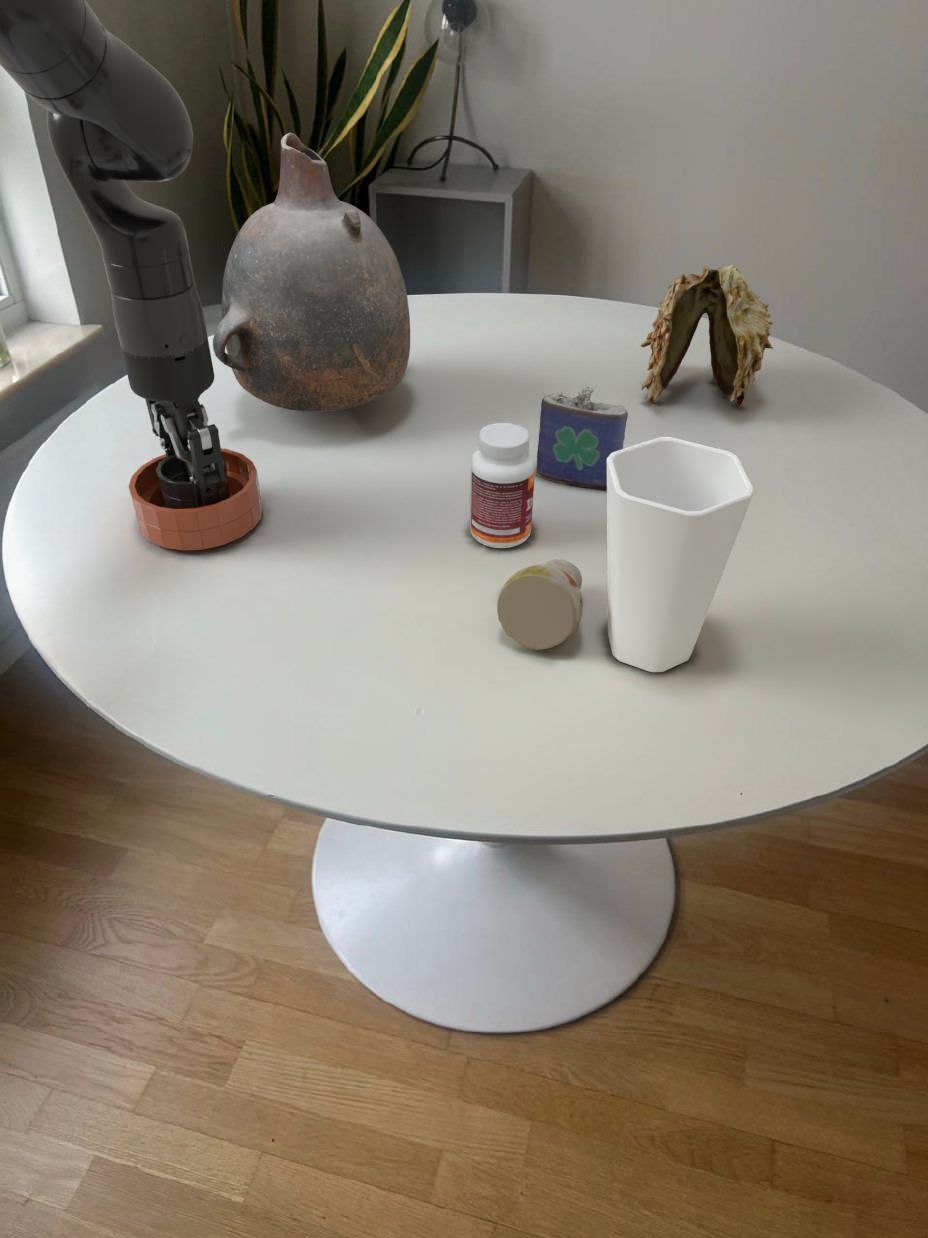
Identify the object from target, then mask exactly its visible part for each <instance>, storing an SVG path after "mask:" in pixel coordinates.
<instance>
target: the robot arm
mask: <svg viewBox="0 0 928 1238" xmlns="http://www.w3.org/2000/svg"><path fill="white" fill-rule="evenodd" d="M0 66H1V68H2V69H3V70H4V71H5V72H6V73H7V74H8V75H9V76H10V77H11V78H12V80H13V81H14V82H15V83H16V84H17V85H18V86H19V87H20V88H21V90H23V92H25V94H26V95H27V96H28V97H29V98H30V99H31V100H32V101H34V102H35V103H36V104H37V105H39V106H40V107H41V108H43V109H44V110H46V128H47V133H48V138H49V142H50V145H51V149H52V151H53V153H54V156H55V159H56V160H57V162H58V164H59V167H60V168H61V170H62V172H63V174H64V176H65V178H66V180H67V182H68V183H69V186H70V187H71V190H72V192H73V193H74V195H75V197H76V199H77V202H79V205H80V206H81V209H82V210H83V213H84V215H85V216H86V219H87V221H88V223H89V225H90V227H91V229H92V231H93V232H94V234H95V236H96V239H97V241H98V244H99V246H100V252H101V256H102V257H101V258H102V260H103V265H104V269H105V273H106V278H107V281H108V286H109V290H110V296H111V306H112V314H113V321H114V325H115V329H116V333H117V337H118V341H119V345H120V350H121V354H122V358H123V362H124V366H125V371H126V375H127V380H128V384H129V387H130V389H131V391H132V392H133V393H134V394H135V395H136V396H138V397H140V398H142V399H144V400H145V404H146V407H147V412H148V415H149V420H150V425H151V431H152V434H154V436H155V437H159V445H160V447H161V448H162V449H163V450H164V452H165V454H166V457H168V456H171V455H173V454H176V456H177V458H178V460H179V461H181V462H184V463H185V465H186V468H187V471H188V474H189V479H190V481H191V484H192V488H193V493H194V498H195V503H196V508H199V507H204V506H208V505H213V504H216V503H219V502H220V498H219V492H218V487H217V483H218V482H222V481H225V473H224V467H223V460H222V453H221V448H222V447H221V440H220V435H219V434H220V433H219V432H220V431H219V428H218V427H217V425H216V423H212V424H208V422H209V416H208V413H207V410H206V408H205V406H204V404H203V403H200V401H199V399H200V397H201V396H202V395H203V393H204V392H206V391H207V390H209V389H210V388H211V387H212V385H213V383H214V381H215V371H214V365H213V361H212V354H211V349H210V342H209V336H208V331H207V326H206V319H205V314H204V313H205V312H204V309H203V304H202V301H201V298H200V295H199V292H198V291H199V290H198V289H197V285H196V284H197V283H196V281H195V274H194V269H193V268H194V267H193V263H192V262H193V261H192V257H191V251H190V247H189V240H188V237H187V231H186V227H185V225H184V222H183V220H182V219H181V217H180V216H179V215H178V214H177V213H176V212H174V211H173V210H171V209H168V208H166V207H163V206H160V205H157V204H154V203H151V202H149V201H146V200H144V199H142V198H140V197H139V196H137V194H135V192H134V191H133V190H132V189H131V187H130V186H129V184H128V182H127V181H130V182H131V181H132V182H147V183H148V182H150V183H162V182H169V181H171V180H175V179H176V178H178V177H179V176H180V175H181V174H183V173H184V172H185V171H186V169H187V168H188V166H189V164H190V162H191V160H192V156H193V152H194V147H195V146H194V145H195V137H194V129H193V124H192V119H191V117H190V114H189V112H188V109H187V107H186V104H185V103H184V101H183V100H182V98H181V96H180V94H179V92H178V91H177V90H176V88H175V87H174V86H173V85H172V84H171V82H170V81H168V79H167V78H166V77H165V76H164V75H163V74H162V73H161V72H160V71H159V70H157V68H155V67H154V66H153V65H152V64H151V63H150V62H148V61H147V60H146V59H144V58H143V57H142V56H140V55H139V54H138V53H137V52H136V51H134V50H133V49H132V48H131V47H130V46H129V45H128V44H126V43H125V42H124V41H122V40H121V39H120V38H118V37H117V36H116V35H114V34H113V33H111V32H110V31H109V30H108V29H106V28H105V26H104V25H103V23H102V21H101V20H100V19H99V18H98V16H97V15H96V13H95V12H94V11H93V9H92V7H91V6H90V5H89V3H88V2H87V1H86V0H0ZM189 448H190V451H189ZM206 465H207V466H208V468H205V469H203V467H204V466H206Z"/></svg>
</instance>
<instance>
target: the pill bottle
mask: <svg viewBox="0 0 928 1238" xmlns="http://www.w3.org/2000/svg"><path fill="white" fill-rule="evenodd" d="M477 445H478V449H477V450H476V451H475V452H474V454H473V455H472V456H471V461H470V482H469V483H470V488H469V489H470V491H469V492H470V494H469V497H470V498H469V531H470V534H471V536H472V537H473V539H475V540H476V541H477V542H478V543H480V544H481V545H484V546H486V547H489V548H494V549H509V548H513V547H516V546H520V545H522V544H523V543H525V542H526V541H527V540H528V539H529V537H530V536H531V533H532V532H531V531H532V527H533V525H532V524H533V507H534V492H535V478H536V460H535V457H534V456H533V454H532V453H531V452H530V451H529V448H530V434H529V432H528V430H527V429H526V428H525V427H523V426H520V425H518V424H515V423H510V422H496V423H491V424H487V425H486V426H484V427H482V429H481V430H480V431H479V434H478V444H477Z"/></svg>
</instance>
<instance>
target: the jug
mask: <svg viewBox="0 0 928 1238" xmlns="http://www.w3.org/2000/svg"><path fill="white" fill-rule="evenodd" d="M279 169H280V170H279V171H280V173H279V183H278V190H277V193H276V197H275V199H274V201H273V202H272V203H269V204H267V205H264V206H262V207H260V208H259V209H257V210H256V211H254V213H252V214H251V215H250V216H249V217H248V218H247V220H246V221H245V222H244V223H243V225H242V226H241V228H240V230H239V232H237V235H236V237H235V239H234V241H233V244H232V246H231V248H230V251H229V253H228V256H227V260H226V263H225V267H224V271H223V277H222V291H221V321H220V322H219V323H218V325H217V327H216V328H215V330H214V333H213V334H214V335H213V338H212V349H213V353H214V356H215V358H217V359H218V361H220V362H221V363H222V364H224V365H225V366H227V367H228V368H231V370H232V373H233V375H234V378H235V380H236V381H237V383H238V384H239V385H240V387H242V389H244V390H245V391H246V392H247V393H248V394H250V395H252V396H253V397H255V398H257V399H258V400H261V401H263V402H265V403H267V404H269V405H271V406H274V407H277V408H281V409H284V410H285V409H286V410H290V411H298V412H309V413H310V412H311V413H313V412H314V413H315V412H317V413H319V412H320V413H321V412H323V413H325V412H335V411H343V410H349V409H352V408H356V407H359V406H362V405H364V404H367V403H369V402H372V401H374V400H377V399H379V398H381V397H383V396H385V395H388V394H389V393H391V392H392V391H394V390H395V388H396V387H398V386H399V384H400V383H401V382H402V380H403V378H404V376H405V374H406V370H407V367H408V362H409V359H410V353H411V319H410V318H411V317H410V308H409V307H410V306H409V300H408V299H409V298H408V293H407V287H406V282H405V278H404V276H403V274H402V270H401V267H400V264H399V261H398V259H397V256H396V254H395V252H394V250H393V248H392V246H391V245H390V243H389V241H388V239H387V238H386V236H385V235H384V233H383V231H382V230H381V228H380V227H379V226H378V225H377V224H376V223H375V221H374V220H373V219H372V218H371V217H370V216H369V215H368V214H366V213H365V212H364V211H362V210H361V209H359V208H357V207H356V206H354V205H352V204H350V203H348V202H345V201H341V200H340V199H339V198H338V197H337V195H336V193H335V191H334V188H333V184H332V182H331V177H330V173H329V168H328V164H327V162H326V161H325V160H324V159H323V158H322V157H321V156H320V155H319V154H318V153H317V152H315V151H314V150H312V149H311V148H309V147H307V146H306V145H305V144H303V142H302V141H301V140H300V138H299V137H298V136H297V135H296V134H295V133H292V132H288V133H286V134H285V135H284V136H282V137H281V140H280V168H279Z"/></svg>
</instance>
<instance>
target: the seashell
mask: <svg viewBox="0 0 928 1238" xmlns="http://www.w3.org/2000/svg"><path fill="white" fill-rule="evenodd" d="M769 306H770V303H769V304H768V303H763V302H762V301H761V300H760V295H757V294H756V293H755V292H753V289H752V288H751V286H750V285H749V283H748V282H747V281H746V278H745V276H744V274H742V272H741V271H740V270H739V268H738V267H736V265H735V264H731V265H729V266H726V265H723V266H721V267H719V268H717V269H712V268H710V267H709V266H706V265H705V266H704V267H703V268H702V274H699V273H691V274H690V273H689V274H687V275H685V273H683V272H681V274H680V276H679V277H676V278H674V280H673V283H672V284H671V285H669V286H668V289H667V293H666V295H665V298H664V299H663V300H662V301H660V303H659V308H658V309H657V311H658V313H657V315H656V318H655V319H654V320H653V322H652V329H653V330H652V331H651V332H649V333H647V336H646V338H645V339H646V340H645V341H643V342H642V343H641V344H640V347H641V348H645V347H646V348H647V347H648V346H650V349H651V353H650V356H649V359H648V367H647V368H646V370H647V371H648V373H647V375H646V377H645V380H644V381H643V384H642V386H641V391H643V390H645V388H646V389H647V403H649V404H650V403H655V404H656V403H657V402H658V401H659V399H660V397H661V394H662V393H663V391H664V390H665V389H666V388H667V387H668V386H669V384H670V383H671V382H672V379H673V378H674V376H675V375H676V374H677V373H678V370H679V368H680V366H681V364H682V362H683V360H684V358H685V356H686V354H687V352H688V351H689V348H690V346H691V343H692V340H693V338H694V336H695V334H696V331H697V329H698V326H699V324H700V321H701V319H702V317H703V315H705V314H706V315H707V318H708V336H709V337H708V339H709V341H708V343H709V351H710V366H711V372H712V382H713V383H714V382H715V383H716V384H717V389H718V392H719V394H722V396H723V397H727V398H728V399H729V400H730V402H733V401H735V400H736V401H735V404H736V407H737V408H740V407H741V406H742V405H743V403H744V401H745V398H746V390H748V389H749V388H750V387H751V385H752V384H753V383H754V382H755V381H756V378H755V375H756V372H759V371H761V369H762V361H763V359H764V353H765V350H766V349H772V350H774V347H773V346H772V343H771V342H770V341H769V336H770V335H771V333H770V329H771V327H772V325H773V324H774V322H773V320H771V315H770V313H769V312H768V307H769Z"/></svg>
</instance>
